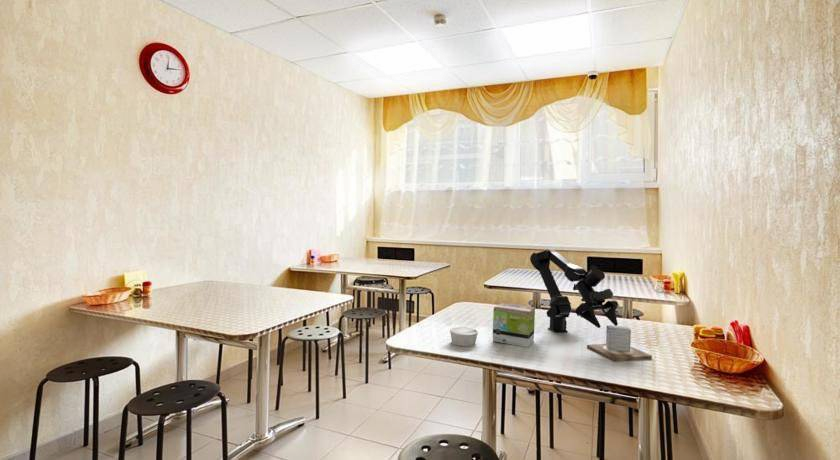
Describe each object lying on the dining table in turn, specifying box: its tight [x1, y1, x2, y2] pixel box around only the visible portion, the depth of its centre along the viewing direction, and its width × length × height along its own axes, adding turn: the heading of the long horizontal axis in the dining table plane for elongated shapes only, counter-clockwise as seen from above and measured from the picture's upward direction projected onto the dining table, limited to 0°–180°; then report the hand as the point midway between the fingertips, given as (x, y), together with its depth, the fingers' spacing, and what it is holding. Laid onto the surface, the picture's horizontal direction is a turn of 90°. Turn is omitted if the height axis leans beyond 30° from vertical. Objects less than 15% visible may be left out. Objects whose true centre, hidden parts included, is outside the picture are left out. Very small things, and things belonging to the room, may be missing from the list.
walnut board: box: [586, 343, 653, 362], centre depth 163 cm, size 16×16×1 cm
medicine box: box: [605, 325, 632, 352], centre depth 162 cm, size 8×4×9 cm, turn 78°
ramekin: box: [449, 326, 479, 348], centre depth 172 cm, size 11×11×5 cm
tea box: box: [492, 302, 536, 349], centre depth 175 cm, size 15×10×15 cm, turn 62°
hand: (608, 326), depth 167 cm, fingers open, 9 cm apart
